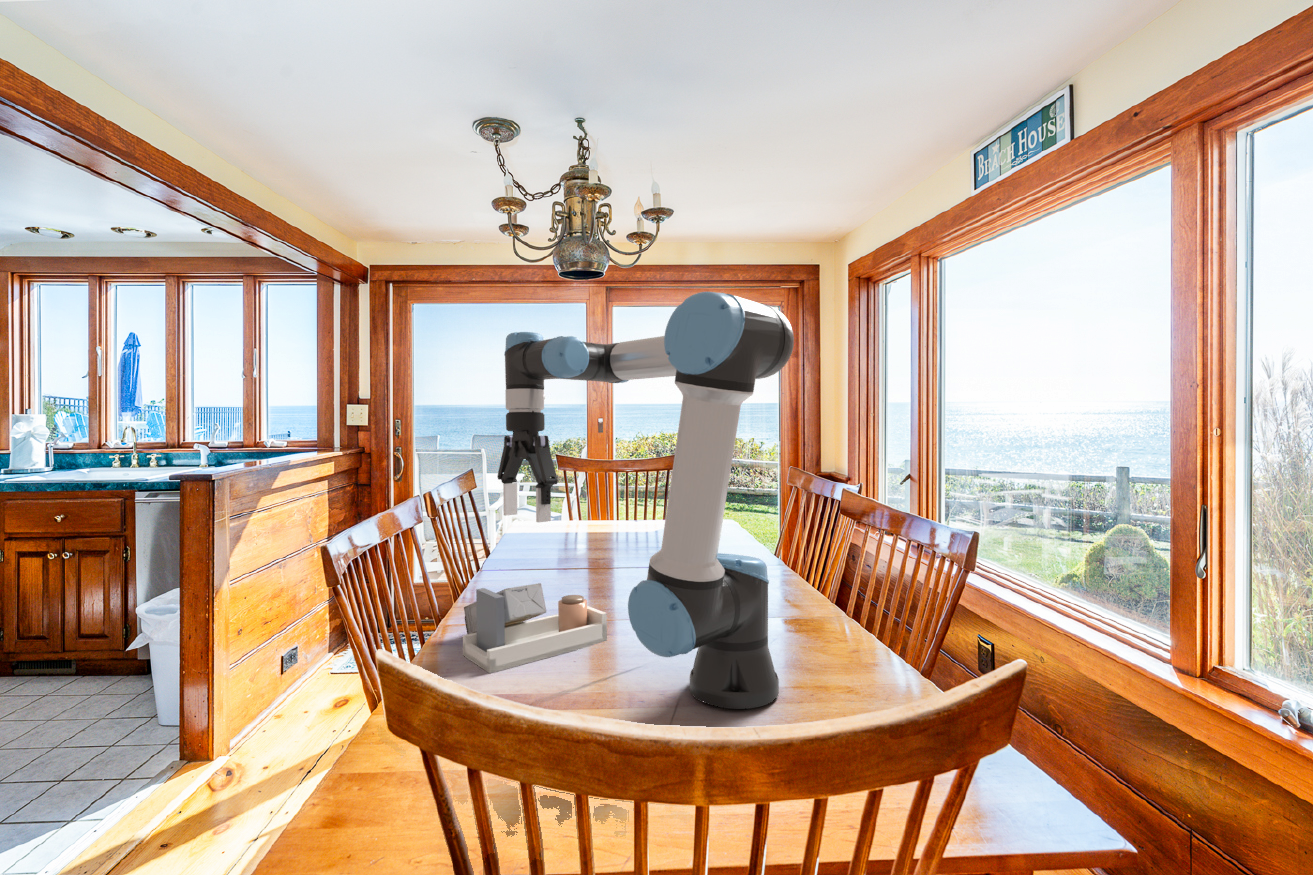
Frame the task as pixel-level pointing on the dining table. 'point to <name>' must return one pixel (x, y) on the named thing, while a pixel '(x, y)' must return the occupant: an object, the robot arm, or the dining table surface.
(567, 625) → the jar
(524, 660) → the white rectangular tray
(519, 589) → the coffee box
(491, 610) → the block
